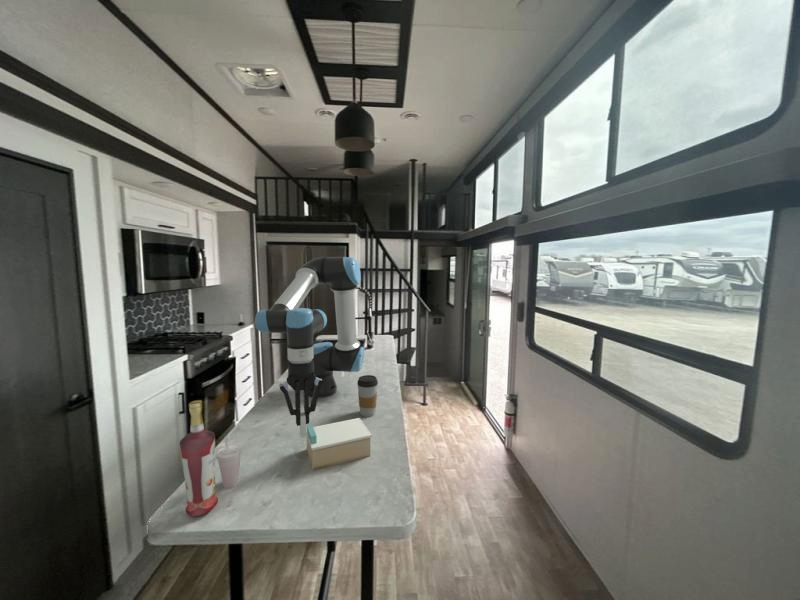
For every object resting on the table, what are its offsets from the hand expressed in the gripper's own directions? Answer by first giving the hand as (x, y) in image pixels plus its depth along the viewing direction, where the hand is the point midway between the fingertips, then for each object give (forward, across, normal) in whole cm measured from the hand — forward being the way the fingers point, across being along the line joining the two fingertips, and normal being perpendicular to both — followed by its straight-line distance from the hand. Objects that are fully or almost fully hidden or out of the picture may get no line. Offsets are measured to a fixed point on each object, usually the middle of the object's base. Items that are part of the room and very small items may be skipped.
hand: (303, 434), depth 101 cm
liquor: (+9, -26, -11) cm, 30 cm away
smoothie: (+9, -20, -3) cm, 22 cm away
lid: (+2, +11, 0) cm, 11 cm away
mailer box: (+9, +11, 0) cm, 14 cm away
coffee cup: (+9, +29, +23) cm, 38 cm away
